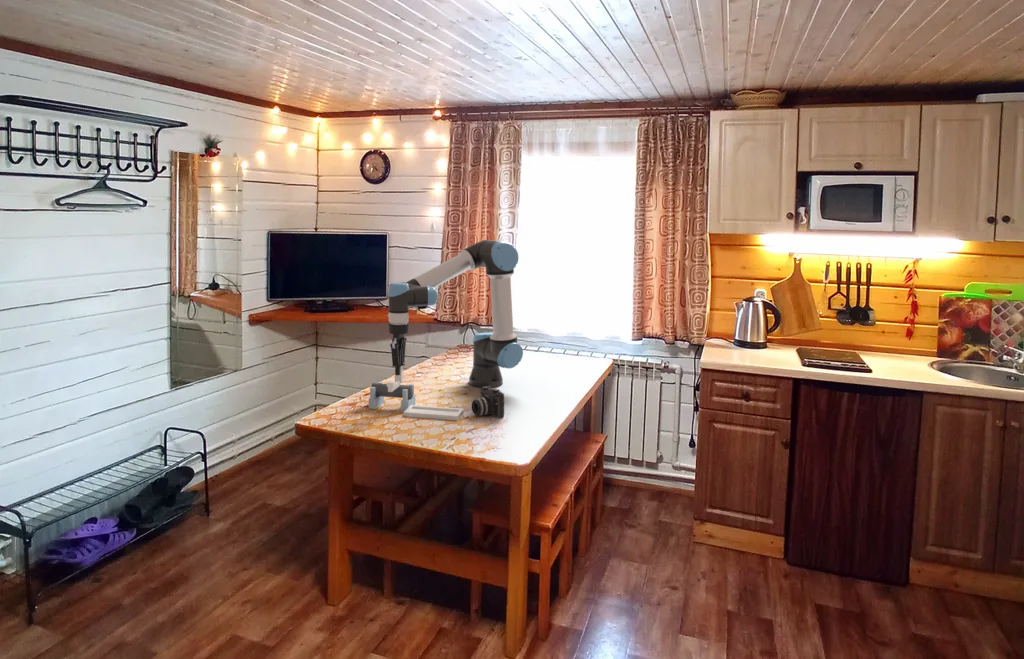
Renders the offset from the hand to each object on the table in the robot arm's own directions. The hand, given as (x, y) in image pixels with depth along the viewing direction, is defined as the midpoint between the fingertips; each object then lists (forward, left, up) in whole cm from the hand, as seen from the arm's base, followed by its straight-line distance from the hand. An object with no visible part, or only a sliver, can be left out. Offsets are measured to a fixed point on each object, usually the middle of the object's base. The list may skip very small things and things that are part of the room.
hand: (398, 382), depth 271 cm
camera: (-35, 0, -11) cm, 36 cm away
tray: (-16, +5, -10) cm, 19 cm away
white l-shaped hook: (0, +6, -1) cm, 6 cm away
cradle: (+3, -1, -10) cm, 11 cm away
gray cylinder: (+3, -1, -6) cm, 7 cm away
